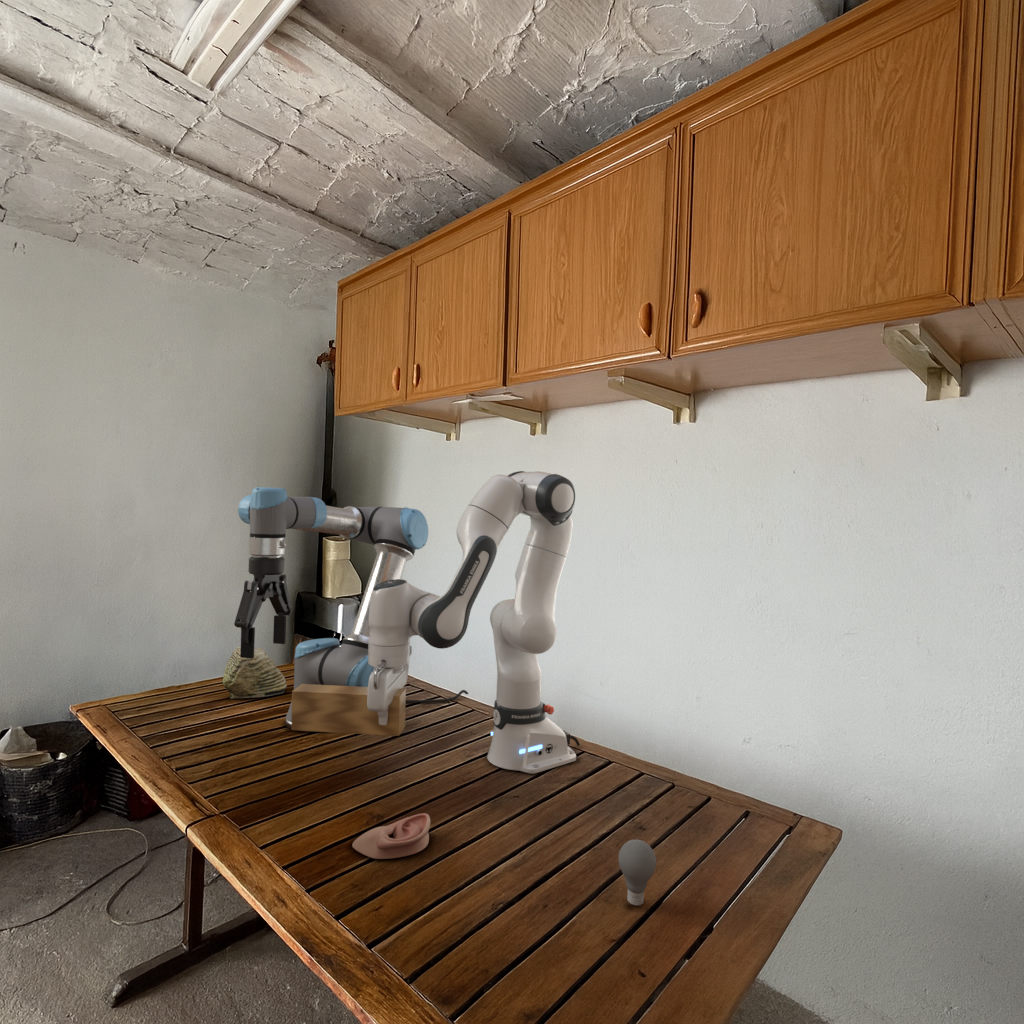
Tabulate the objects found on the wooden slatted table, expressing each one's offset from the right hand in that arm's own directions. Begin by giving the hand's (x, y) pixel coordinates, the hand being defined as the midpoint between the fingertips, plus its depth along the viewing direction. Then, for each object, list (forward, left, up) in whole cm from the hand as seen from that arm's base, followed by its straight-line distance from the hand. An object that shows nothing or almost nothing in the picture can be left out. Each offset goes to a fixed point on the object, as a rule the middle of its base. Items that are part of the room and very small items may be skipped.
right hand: (387, 718), depth 138 cm
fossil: (+19, -78, -16) cm, 82 cm away
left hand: (+24, -18, +12) cm, 32 cm away
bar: (+7, -5, -3) cm, 9 cm away
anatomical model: (+5, +21, -16) cm, 27 cm away
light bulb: (-26, +53, -16) cm, 62 cm away
